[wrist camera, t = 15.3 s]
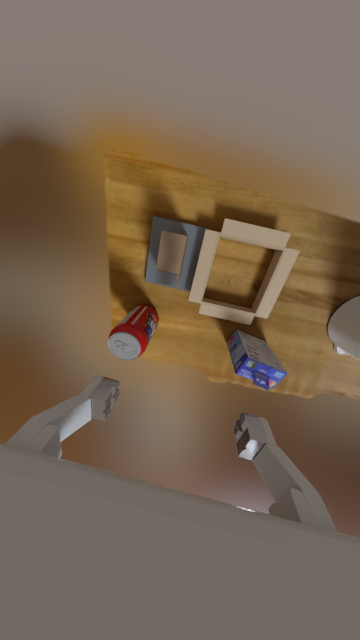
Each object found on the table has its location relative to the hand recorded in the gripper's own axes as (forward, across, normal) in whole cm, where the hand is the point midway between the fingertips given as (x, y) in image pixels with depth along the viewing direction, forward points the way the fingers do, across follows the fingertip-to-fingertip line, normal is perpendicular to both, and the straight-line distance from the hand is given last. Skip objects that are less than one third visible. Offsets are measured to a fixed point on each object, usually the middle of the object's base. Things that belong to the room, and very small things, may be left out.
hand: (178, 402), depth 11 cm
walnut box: (+32, +6, -5) cm, 33 cm away
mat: (+33, +6, -5) cm, 34 cm away
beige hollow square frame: (+34, -9, -5) cm, 35 cm away
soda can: (+33, +11, +12) cm, 37 cm away
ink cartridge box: (+34, -18, +12) cm, 40 cm away
